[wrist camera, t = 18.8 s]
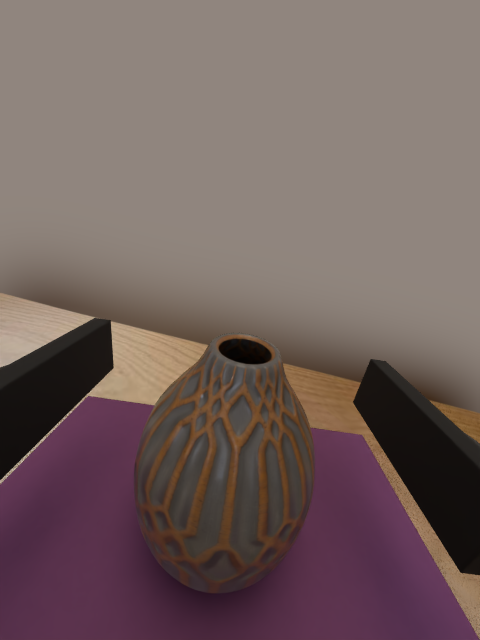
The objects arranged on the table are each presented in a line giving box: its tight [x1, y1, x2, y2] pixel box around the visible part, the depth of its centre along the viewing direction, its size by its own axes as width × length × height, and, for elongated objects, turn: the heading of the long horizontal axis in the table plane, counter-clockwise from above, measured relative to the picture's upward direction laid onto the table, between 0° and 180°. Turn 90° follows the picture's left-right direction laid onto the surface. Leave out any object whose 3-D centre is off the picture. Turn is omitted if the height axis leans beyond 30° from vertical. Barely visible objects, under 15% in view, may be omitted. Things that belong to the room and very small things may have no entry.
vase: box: [134, 333, 315, 593], centre depth 9 cm, size 7×7×9 cm
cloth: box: [0, 396, 479, 640], centre depth 11 cm, size 20×12×1 cm, turn 88°
